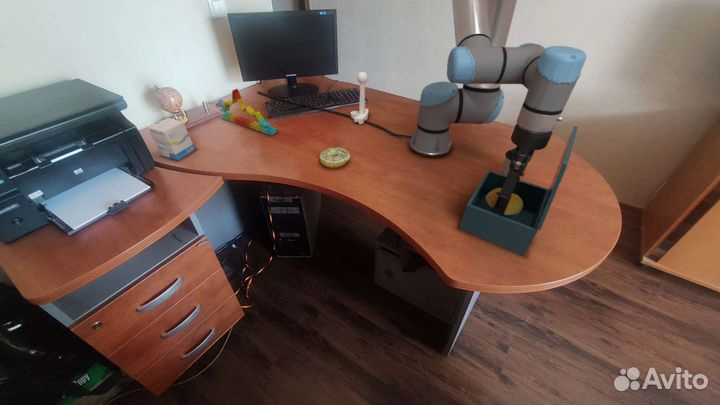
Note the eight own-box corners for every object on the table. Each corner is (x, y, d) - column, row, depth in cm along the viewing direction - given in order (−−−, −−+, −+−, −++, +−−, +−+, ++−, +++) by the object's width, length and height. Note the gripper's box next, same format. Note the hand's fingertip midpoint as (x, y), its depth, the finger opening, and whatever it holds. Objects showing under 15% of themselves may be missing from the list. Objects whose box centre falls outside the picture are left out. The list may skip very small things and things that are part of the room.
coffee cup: (517, 187, 94) (529, 160, 87) (494, 180, 97) (504, 154, 90) (521, 176, 98) (532, 150, 92) (499, 170, 101) (509, 144, 95)
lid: (562, 163, 57) (567, 164, 56) (574, 126, 68) (578, 126, 68) (536, 229, 67) (540, 230, 67) (549, 187, 79) (553, 188, 78)
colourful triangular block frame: (277, 132, 123) (269, 96, 113) (271, 135, 121) (263, 99, 111) (229, 115, 135) (218, 82, 125) (223, 118, 133) (211, 84, 123)
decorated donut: (356, 160, 106) (355, 151, 104) (334, 173, 100) (333, 164, 98) (335, 150, 111) (335, 141, 109) (314, 162, 106) (313, 153, 103)
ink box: (196, 149, 113) (184, 121, 105) (177, 160, 107) (163, 131, 99) (180, 145, 116) (167, 116, 108) (161, 155, 110) (146, 126, 102)
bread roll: (511, 221, 75) (517, 209, 72) (480, 203, 80) (484, 192, 77) (527, 206, 79) (532, 195, 76) (496, 191, 84) (500, 179, 81)
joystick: (363, 124, 128) (363, 76, 114) (347, 122, 129) (345, 75, 116) (370, 113, 136) (371, 68, 122) (354, 111, 137) (353, 66, 124)
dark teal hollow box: (459, 228, 80) (466, 204, 75) (480, 193, 92) (488, 169, 86) (523, 255, 73) (537, 231, 68) (537, 213, 85) (550, 189, 79)
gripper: (544, 153, 56) (506, 234, 71) (560, 113, 69) (525, 188, 84) (503, 142, 59) (475, 222, 74) (526, 106, 73) (498, 180, 87)
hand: (502, 204), depth 79 cm, fingers closed on bread roll, 9 cm apart
